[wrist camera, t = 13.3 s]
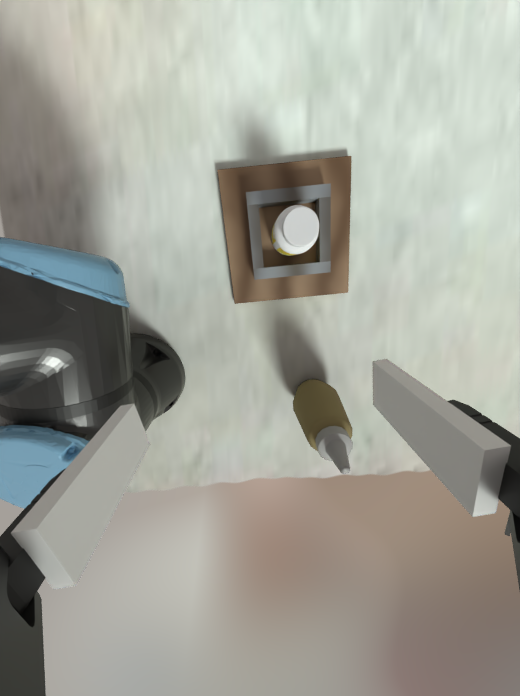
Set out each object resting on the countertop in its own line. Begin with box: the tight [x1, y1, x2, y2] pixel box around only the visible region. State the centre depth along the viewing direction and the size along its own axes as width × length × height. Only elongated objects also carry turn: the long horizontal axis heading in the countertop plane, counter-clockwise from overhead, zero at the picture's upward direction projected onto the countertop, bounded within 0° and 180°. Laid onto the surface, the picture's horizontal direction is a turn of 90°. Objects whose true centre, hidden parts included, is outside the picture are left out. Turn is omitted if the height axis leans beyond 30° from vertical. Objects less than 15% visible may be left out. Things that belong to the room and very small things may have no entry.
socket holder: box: [218, 156, 351, 304], centre depth 35 cm, size 18×18×4 cm
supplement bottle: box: [271, 205, 319, 256], centre depth 31 cm, size 5×5×10 cm
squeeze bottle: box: [293, 379, 353, 474], centre depth 37 cm, size 8×8×18 cm
